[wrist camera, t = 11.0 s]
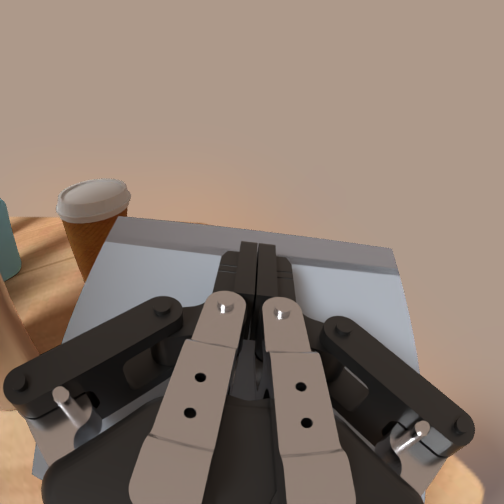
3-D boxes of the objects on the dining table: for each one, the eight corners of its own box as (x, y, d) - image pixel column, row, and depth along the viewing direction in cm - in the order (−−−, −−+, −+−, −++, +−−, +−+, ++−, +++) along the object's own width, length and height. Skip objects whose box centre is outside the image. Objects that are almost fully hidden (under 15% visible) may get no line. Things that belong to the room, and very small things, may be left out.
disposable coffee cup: (126, 302, 31) (111, 207, 25) (62, 292, 30) (39, 205, 24) (146, 258, 39) (140, 177, 33) (89, 253, 38) (78, 177, 32)
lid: (59, 475, 7) (31, 474, 6) (127, 243, 17) (118, 215, 15) (395, 507, 8) (423, 510, 6) (375, 273, 17) (391, 248, 15)
